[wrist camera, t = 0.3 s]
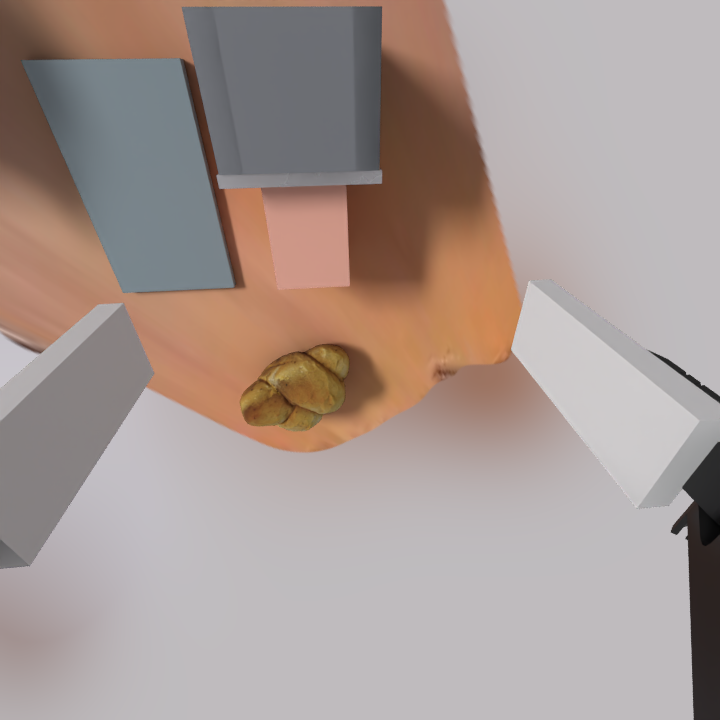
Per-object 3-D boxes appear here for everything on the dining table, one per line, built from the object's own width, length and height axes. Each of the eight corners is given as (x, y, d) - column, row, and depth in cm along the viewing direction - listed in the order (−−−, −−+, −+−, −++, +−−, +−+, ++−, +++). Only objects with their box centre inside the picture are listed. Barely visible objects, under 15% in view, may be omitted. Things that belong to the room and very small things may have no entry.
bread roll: (329, 321, 41) (330, 362, 35) (369, 377, 46) (376, 422, 40) (240, 369, 44) (225, 416, 37) (287, 416, 49) (281, 464, 43)
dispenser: (224, 36, 26) (177, 6, 18) (365, 35, 27) (385, 6, 18) (246, 164, 31) (218, 189, 23) (366, 161, 32) (382, 184, 23)
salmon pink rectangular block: (263, 95, 29) (245, 94, 22) (338, 94, 29) (343, 93, 22) (285, 255, 36) (277, 289, 30) (345, 252, 37) (349, 286, 30)
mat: (28, 61, 26) (20, 60, 25) (183, 59, 27) (179, 58, 26) (126, 289, 37) (123, 292, 36) (235, 284, 37) (234, 287, 37)
